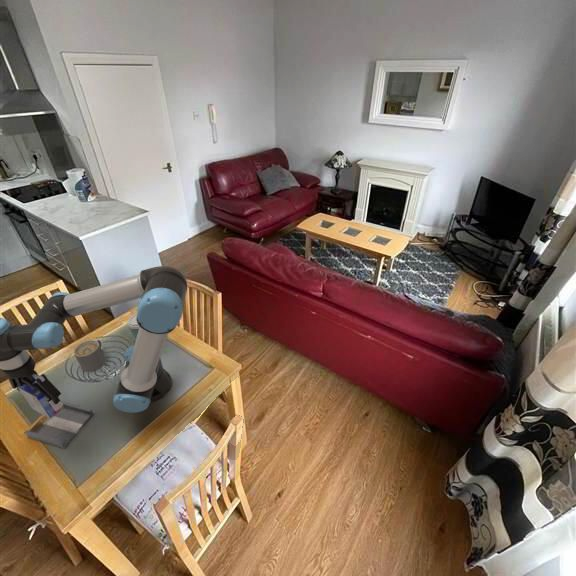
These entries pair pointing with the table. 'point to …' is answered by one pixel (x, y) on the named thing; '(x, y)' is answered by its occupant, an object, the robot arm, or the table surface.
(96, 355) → the coffee mug
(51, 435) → the grey tray
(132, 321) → the disposable coffee cup
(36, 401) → the ink cartridge box
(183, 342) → the table surface
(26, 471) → the table surface
